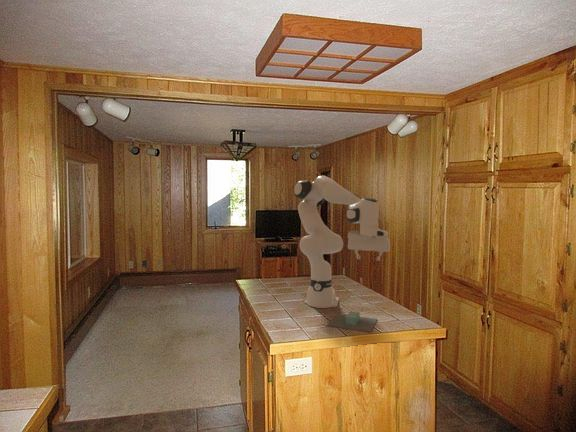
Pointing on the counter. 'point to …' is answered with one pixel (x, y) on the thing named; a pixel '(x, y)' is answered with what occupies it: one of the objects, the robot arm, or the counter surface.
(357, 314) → the teal rectangular block
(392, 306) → the counter surface
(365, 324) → the mat
